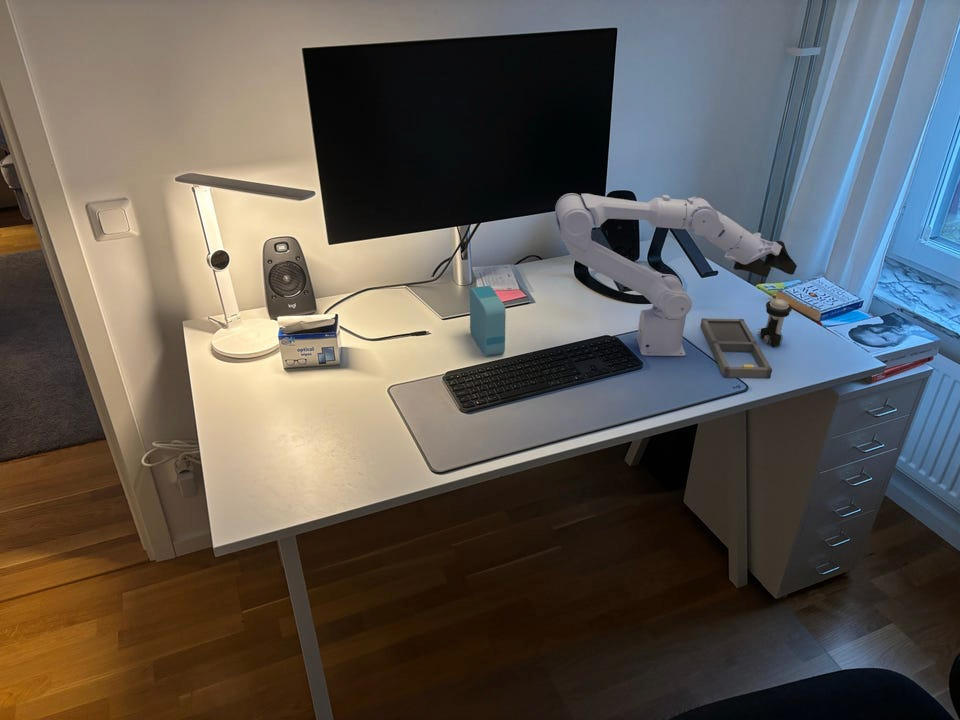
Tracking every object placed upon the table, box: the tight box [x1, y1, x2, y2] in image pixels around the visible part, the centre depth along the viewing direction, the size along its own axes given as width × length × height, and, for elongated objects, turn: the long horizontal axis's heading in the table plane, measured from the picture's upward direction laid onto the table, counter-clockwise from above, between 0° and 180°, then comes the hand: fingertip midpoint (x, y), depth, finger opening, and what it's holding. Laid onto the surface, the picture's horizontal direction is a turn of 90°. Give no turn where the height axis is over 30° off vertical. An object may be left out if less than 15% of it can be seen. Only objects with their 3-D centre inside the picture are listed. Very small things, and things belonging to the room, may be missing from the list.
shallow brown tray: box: [700, 317, 773, 379], centre depth 160 cm, size 10×22×3 cm, turn 178°
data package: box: [469, 285, 507, 357], centre depth 160 cm, size 12×4×12 cm, turn 17°
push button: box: [756, 297, 793, 348], centre depth 162 cm, size 7×5×10 cm
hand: (780, 271), depth 153 cm, fingers open, 7 cm apart
